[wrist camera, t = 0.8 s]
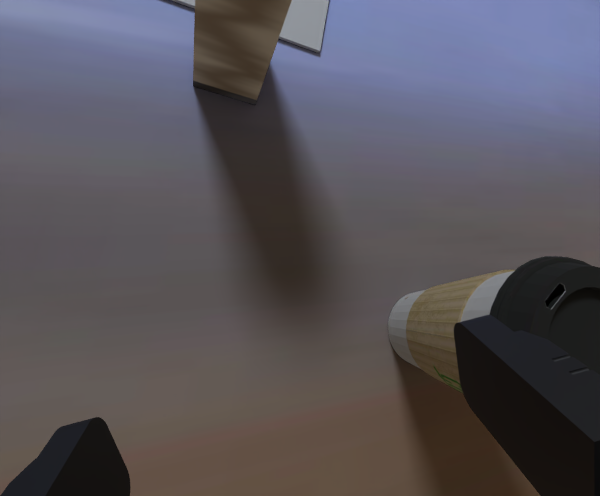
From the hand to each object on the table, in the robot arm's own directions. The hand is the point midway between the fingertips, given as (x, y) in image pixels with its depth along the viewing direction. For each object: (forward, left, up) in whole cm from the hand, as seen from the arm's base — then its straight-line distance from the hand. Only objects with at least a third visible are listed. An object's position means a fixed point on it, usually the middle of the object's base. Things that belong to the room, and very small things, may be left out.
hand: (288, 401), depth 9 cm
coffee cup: (+17, +3, -21) cm, 27 cm away
